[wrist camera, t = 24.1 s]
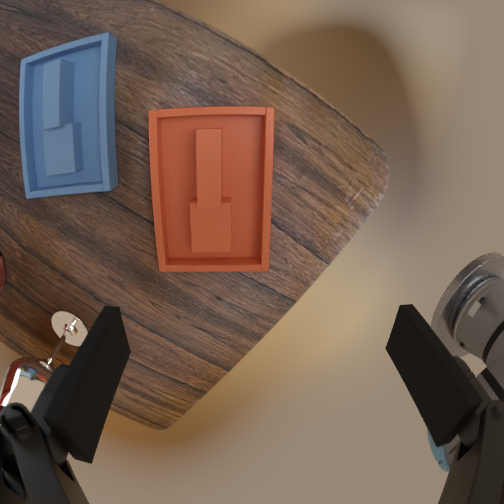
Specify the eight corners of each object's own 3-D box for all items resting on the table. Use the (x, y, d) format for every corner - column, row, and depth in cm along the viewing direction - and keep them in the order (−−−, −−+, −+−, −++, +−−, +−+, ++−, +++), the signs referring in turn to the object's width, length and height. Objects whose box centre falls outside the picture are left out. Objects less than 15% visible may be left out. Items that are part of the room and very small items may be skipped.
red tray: (271, 108, 27) (274, 107, 25) (266, 261, 34) (268, 271, 32) (154, 111, 27) (148, 110, 25) (164, 262, 34) (159, 271, 31)
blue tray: (117, 37, 23) (109, 31, 21) (118, 185, 30) (110, 191, 27) (32, 61, 22) (21, 59, 20) (37, 193, 29) (26, 199, 27)
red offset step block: (190, 128, 27) (185, 129, 24) (231, 128, 27) (231, 128, 25) (194, 244, 32) (190, 257, 29) (231, 244, 32) (231, 257, 30)
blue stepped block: (52, 68, 23) (37, 66, 20) (82, 60, 23) (68, 56, 20) (55, 172, 28) (40, 178, 25) (83, 169, 28) (69, 174, 25)
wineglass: (39, 320, 36) (-18, 405, 20) (63, 294, 35) (-4, 389, 18) (77, 356, 39) (34, 447, 23) (104, 335, 38) (58, 439, 21)
